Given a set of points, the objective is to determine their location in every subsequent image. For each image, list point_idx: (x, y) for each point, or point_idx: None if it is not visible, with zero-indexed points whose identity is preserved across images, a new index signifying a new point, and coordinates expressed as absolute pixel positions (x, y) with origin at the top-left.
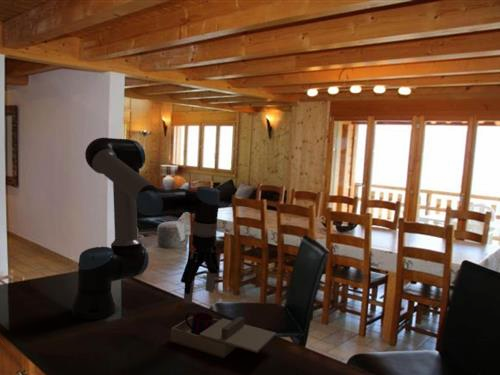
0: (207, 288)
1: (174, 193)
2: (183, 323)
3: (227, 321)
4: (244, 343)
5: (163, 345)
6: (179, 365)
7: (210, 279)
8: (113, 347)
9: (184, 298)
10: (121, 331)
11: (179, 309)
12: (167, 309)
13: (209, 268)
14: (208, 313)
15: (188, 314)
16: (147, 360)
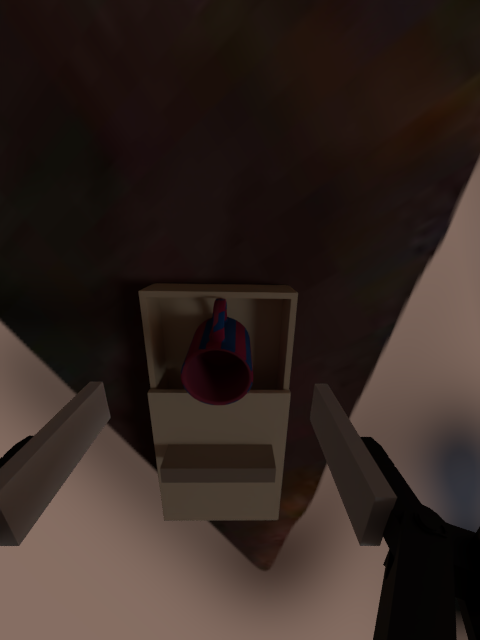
0: (319, 403)
1: None
2: (205, 297)
3: (276, 413)
4: (177, 492)
5: (123, 281)
6: (76, 369)
7: (340, 471)
8: (3, 158)
9: (77, 398)
10: (99, 84)
11: (396, 149)
12: (375, 101)
13: (388, 588)
14: (252, 378)
15: (217, 313)
16: (34, 297)
